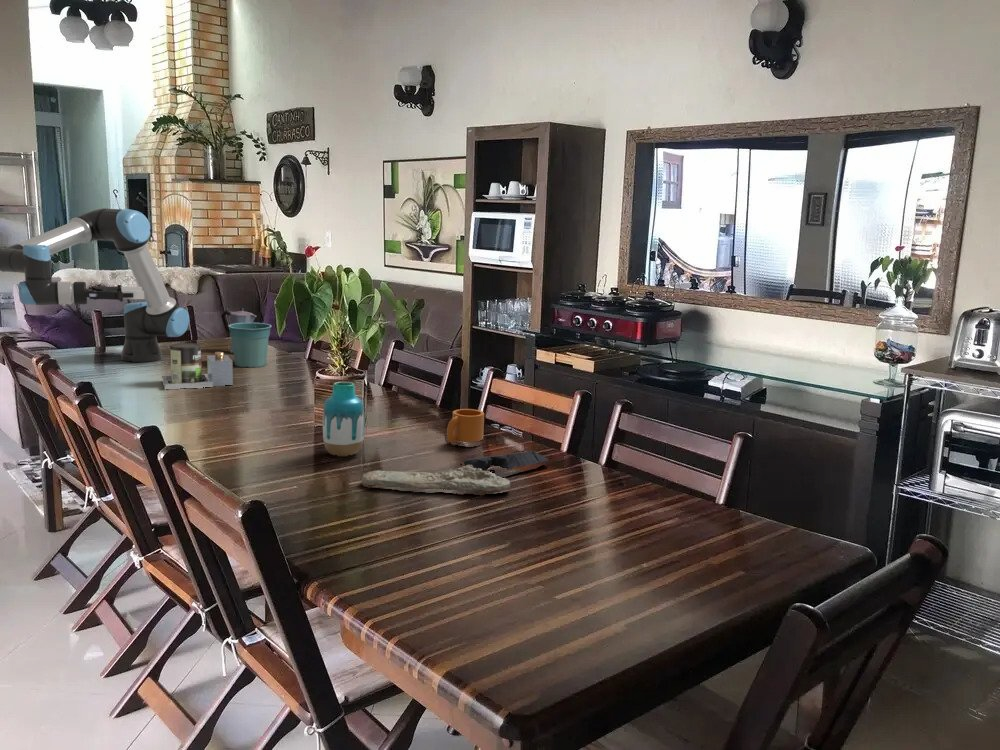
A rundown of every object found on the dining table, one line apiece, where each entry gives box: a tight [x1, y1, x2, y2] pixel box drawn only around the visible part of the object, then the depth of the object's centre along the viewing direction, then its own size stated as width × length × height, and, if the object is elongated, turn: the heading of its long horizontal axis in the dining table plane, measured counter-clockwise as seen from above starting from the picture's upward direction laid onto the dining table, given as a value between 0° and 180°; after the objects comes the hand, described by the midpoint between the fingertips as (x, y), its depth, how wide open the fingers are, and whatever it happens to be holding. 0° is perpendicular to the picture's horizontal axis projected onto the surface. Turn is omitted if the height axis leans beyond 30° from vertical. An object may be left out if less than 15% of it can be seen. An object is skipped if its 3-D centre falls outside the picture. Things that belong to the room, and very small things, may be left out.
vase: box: [322, 381, 365, 457], centre depth 210 cm, size 11×11×19 cm
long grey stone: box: [360, 465, 511, 491], centre depth 189 cm, size 35×5×10 cm
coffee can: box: [169, 342, 203, 383], centre depth 285 cm, size 10×10×14 cm
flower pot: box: [228, 322, 272, 369], centre depth 323 cm, size 16×16×16 cm
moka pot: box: [221, 306, 257, 355], centre depth 348 cm, size 10×15×20 cm, turn 89°
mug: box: [446, 408, 485, 442], centre depth 226 cm, size 9×12×9 cm
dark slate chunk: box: [463, 450, 549, 471], centre depth 207 cm, size 15×22×5 cm
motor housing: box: [161, 351, 234, 391], centre depth 286 cm, size 15×22×11 cm
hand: (143, 292), depth 278 cm, fingers open, 13 cm apart
